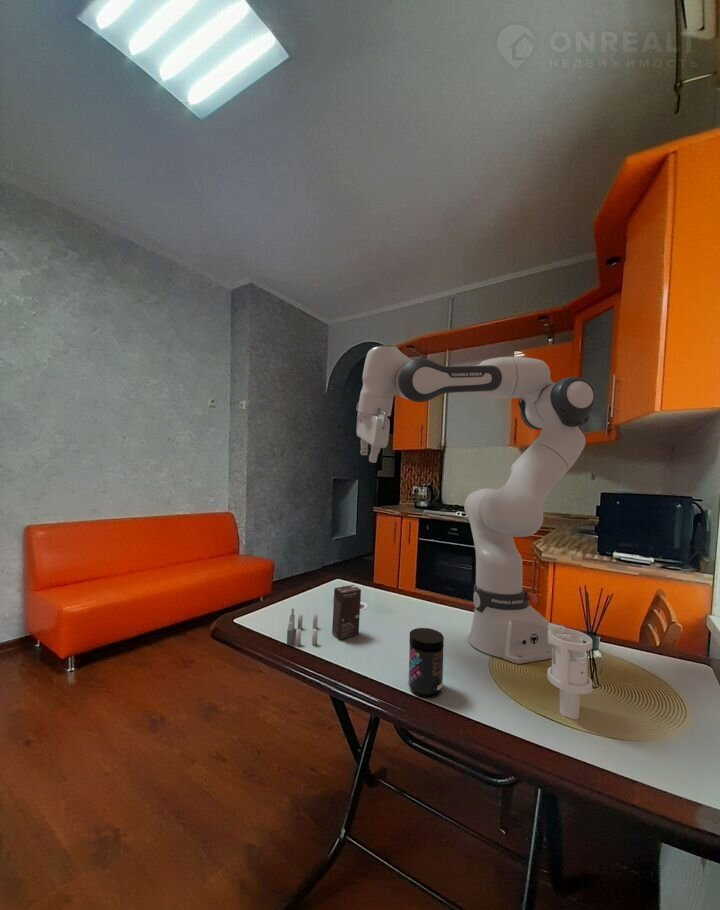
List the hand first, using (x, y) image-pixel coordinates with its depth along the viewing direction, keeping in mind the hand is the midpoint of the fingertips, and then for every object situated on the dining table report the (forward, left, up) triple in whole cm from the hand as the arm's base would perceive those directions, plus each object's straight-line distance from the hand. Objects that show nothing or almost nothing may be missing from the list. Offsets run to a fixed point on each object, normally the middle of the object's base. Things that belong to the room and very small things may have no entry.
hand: (367, 458), depth 98 cm
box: (+5, +2, -46) cm, 47 cm away
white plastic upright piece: (-33, +35, -46) cm, 67 cm away
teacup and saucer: (-1, -21, -47) cm, 52 cm away
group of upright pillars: (+16, +2, -46) cm, 49 cm away
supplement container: (-9, +26, -46) cm, 54 cm away
